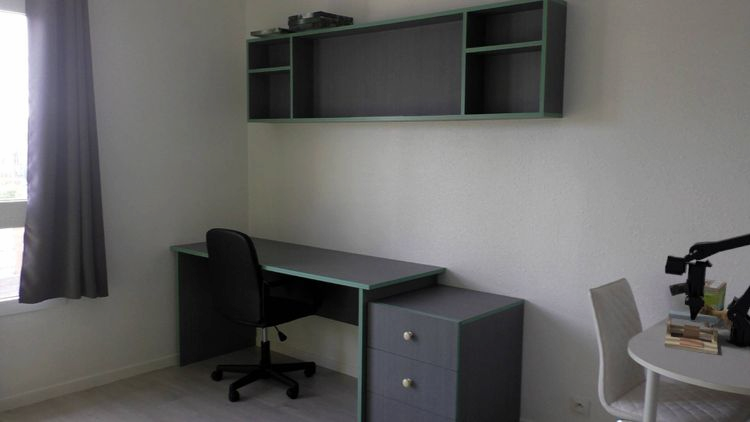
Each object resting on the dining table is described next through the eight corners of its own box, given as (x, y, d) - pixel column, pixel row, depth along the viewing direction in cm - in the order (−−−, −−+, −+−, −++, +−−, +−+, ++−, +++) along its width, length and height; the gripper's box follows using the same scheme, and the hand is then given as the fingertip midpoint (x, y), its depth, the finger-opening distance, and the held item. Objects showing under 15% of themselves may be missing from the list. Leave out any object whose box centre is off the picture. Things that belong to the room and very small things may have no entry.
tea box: (716, 326, 245) (720, 288, 243) (688, 320, 251) (691, 283, 249) (723, 317, 257) (727, 281, 255) (696, 312, 263) (699, 277, 261)
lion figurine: (694, 326, 244) (696, 303, 242) (692, 322, 248) (694, 300, 247) (738, 331, 239) (740, 308, 238) (735, 327, 244) (737, 304, 243)
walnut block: (698, 342, 225) (699, 330, 224) (683, 340, 227) (684, 327, 227) (698, 338, 229) (699, 326, 229) (683, 336, 232) (684, 324, 231)
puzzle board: (717, 354, 212) (718, 341, 212) (664, 346, 219) (665, 333, 219) (715, 334, 235) (716, 321, 234) (667, 327, 242) (668, 314, 241)
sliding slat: (717, 324, 230) (717, 320, 229) (668, 317, 237) (668, 313, 237) (717, 320, 234) (717, 316, 234) (668, 314, 241) (669, 310, 241)
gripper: (672, 270, 242) (669, 310, 244) (670, 279, 226) (667, 323, 228) (705, 273, 237) (701, 314, 239) (706, 284, 221) (702, 328, 223)
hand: (692, 319), depth 232 cm, fingers closed
